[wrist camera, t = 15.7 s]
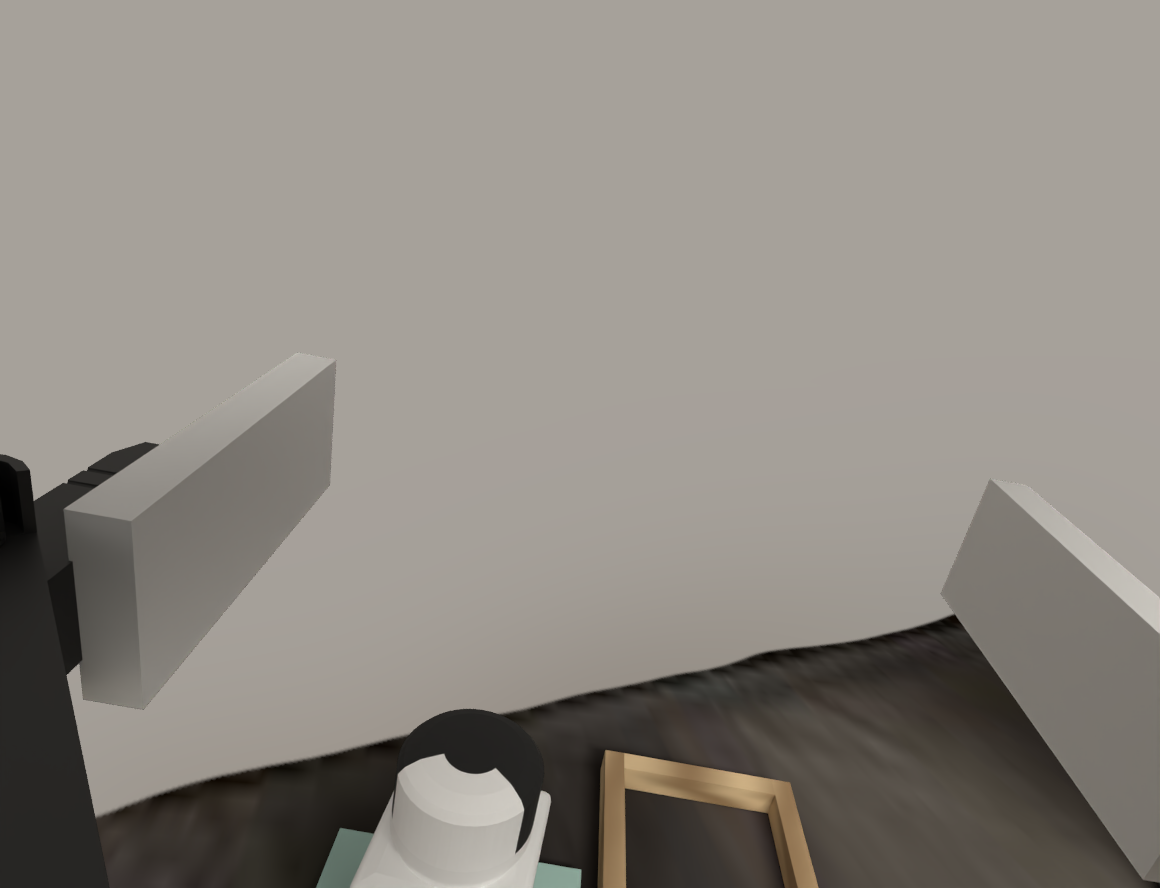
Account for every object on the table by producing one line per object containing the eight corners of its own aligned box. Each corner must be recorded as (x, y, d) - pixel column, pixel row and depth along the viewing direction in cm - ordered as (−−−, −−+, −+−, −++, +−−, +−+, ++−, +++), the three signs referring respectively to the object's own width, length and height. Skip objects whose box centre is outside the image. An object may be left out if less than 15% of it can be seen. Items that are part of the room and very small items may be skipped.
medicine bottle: (395, 857, 39) (419, 673, 34) (529, 892, 38) (571, 710, 34) (335, 1002, 32) (355, 797, 27) (497, 1046, 32) (543, 845, 27)
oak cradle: (782, 801, 48) (789, 782, 47) (832, 997, 37) (842, 976, 36) (600, 768, 48) (605, 749, 47) (596, 957, 37) (602, 935, 36)
